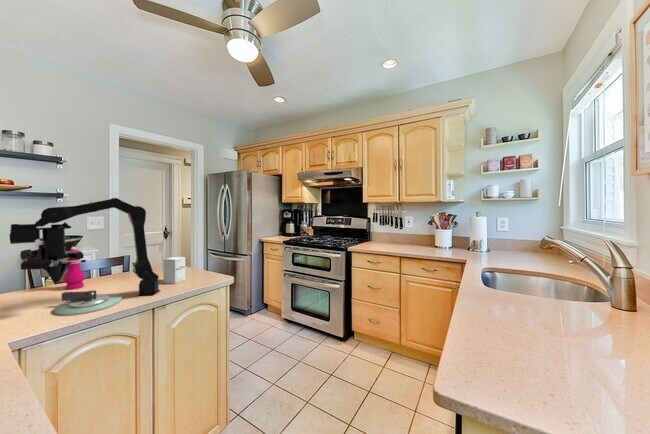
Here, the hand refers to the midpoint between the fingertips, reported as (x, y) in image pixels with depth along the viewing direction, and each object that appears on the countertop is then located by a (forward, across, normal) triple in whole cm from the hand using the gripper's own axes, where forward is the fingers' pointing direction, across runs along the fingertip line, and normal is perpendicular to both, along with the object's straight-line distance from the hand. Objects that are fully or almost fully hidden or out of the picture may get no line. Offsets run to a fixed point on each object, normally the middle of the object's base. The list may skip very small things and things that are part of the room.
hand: (56, 282), depth 96 cm
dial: (+10, -6, +5) cm, 13 cm away
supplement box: (+11, -36, +26) cm, 46 cm away
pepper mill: (+11, -30, -17) cm, 36 cm away
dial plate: (+11, -6, +7) cm, 14 cm away
